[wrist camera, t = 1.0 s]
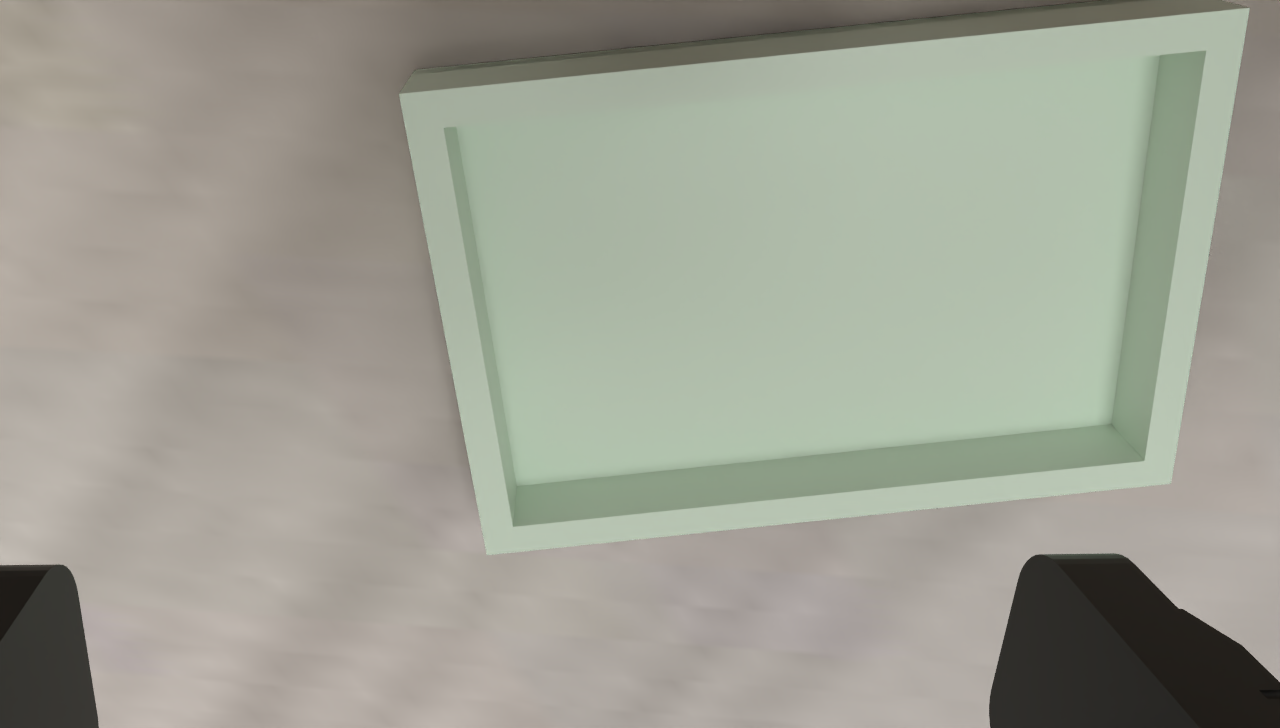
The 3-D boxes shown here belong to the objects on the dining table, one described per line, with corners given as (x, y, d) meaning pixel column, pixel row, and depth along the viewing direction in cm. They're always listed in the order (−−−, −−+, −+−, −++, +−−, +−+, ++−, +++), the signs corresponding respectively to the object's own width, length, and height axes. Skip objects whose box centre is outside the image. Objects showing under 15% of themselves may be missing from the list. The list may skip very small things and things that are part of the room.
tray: (415, 69, 24) (398, 94, 22) (1188, -9, 25) (1249, 7, 22) (493, 501, 30) (486, 555, 28) (1126, 435, 30) (1170, 483, 28)
